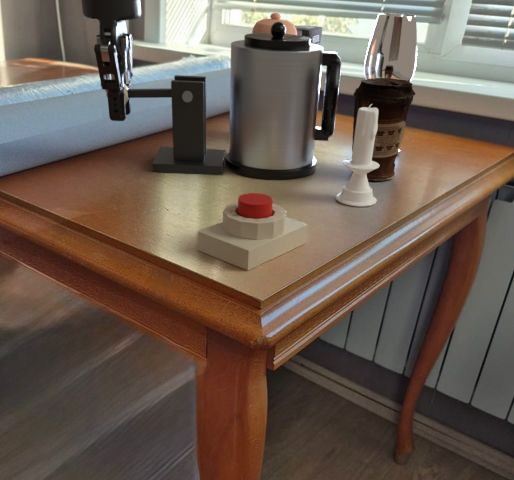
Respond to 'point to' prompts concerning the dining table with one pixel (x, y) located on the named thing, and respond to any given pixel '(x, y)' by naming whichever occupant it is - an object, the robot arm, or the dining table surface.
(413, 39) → the wineglass
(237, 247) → the power block
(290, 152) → the kettle
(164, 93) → the lever switch
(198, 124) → the switch bracket
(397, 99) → the coffee cup
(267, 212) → the power button
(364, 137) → the candle
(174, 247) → the dining table surface
